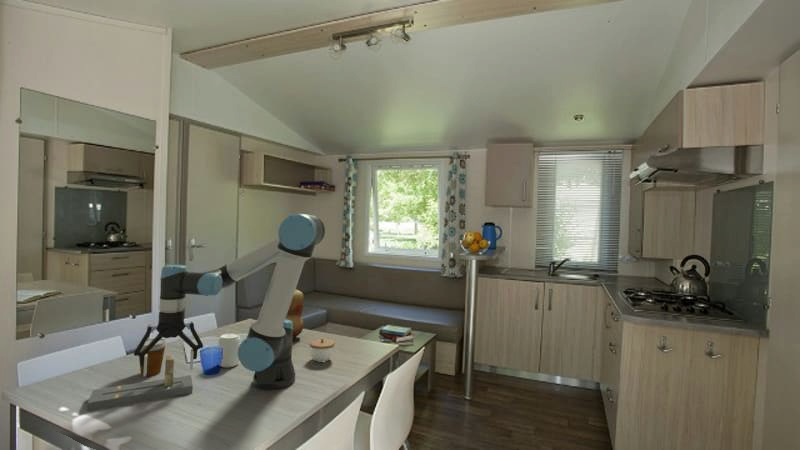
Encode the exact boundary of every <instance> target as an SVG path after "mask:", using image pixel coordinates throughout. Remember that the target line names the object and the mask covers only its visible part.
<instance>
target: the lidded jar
mask: <svg viewBox="0 0 800 450" xmlns="http://www.w3.org/2000/svg"><path fill="white" fill-rule="evenodd" d="M334 350H335V341H334V340H332V339H329V338H317V339H313V340H311V341H310V342H309V353H310V357H311V358H312V359H313V361H314V360H315V361H318V362H317V363H319V362H323V361H327V360H328V361H329V360H330V359H331V358H332V357H333V354H334V352H335V351H334ZM315 361H314V362H315ZM328 361H327V362H328ZM323 363H324V362H323Z"/></svg>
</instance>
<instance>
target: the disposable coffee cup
mask: <svg viewBox="0 0 800 450" xmlns="http://www.w3.org/2000/svg"><path fill="white" fill-rule="evenodd" d="M153 339H154V338H148V339H147V341H146V342H145V344H144V346H143V347H142V349H141V350H140V351H143V350H144V349H145V347H146V346H147V345H148V344H149V343H150V342H151V341H152V340H153ZM139 343H140V342H138V345H139ZM138 345H137V346H138ZM167 345H168V344H167V342H166V338H161V339H160V340H159V341H158V342H157V343H156V344H155V345H154V346H153V347H152V348H151V349H150V350H149V352H148V353H147V372H146V376H145V377H152V376H153V377H154V376H157V375H159V374H160V373H161V371H162V366H163V360H164V354H165V350H166V347H167ZM138 359H139V362H140V356H138ZM139 368H140V369H139V370H140V375H141V376H142V377H143V374H144V366H140V365H139Z"/></svg>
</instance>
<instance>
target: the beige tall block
mask: <svg viewBox="0 0 800 450" xmlns="http://www.w3.org/2000/svg"><path fill="white" fill-rule="evenodd" d="M164 361H165V364H164V379H165V387H166V386H173V378H174V367H175V366H174V365H175V355H174V354H172V355H171V354H170V355H165V360H164Z"/></svg>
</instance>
